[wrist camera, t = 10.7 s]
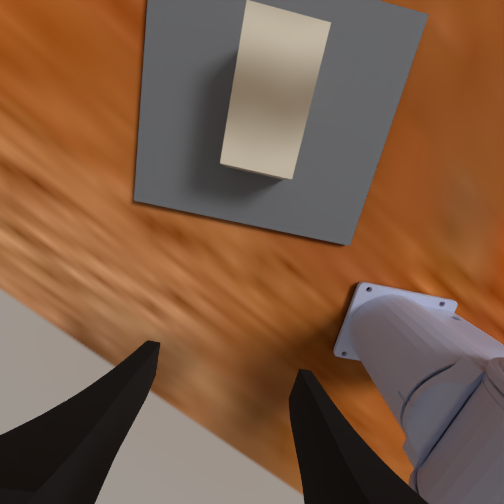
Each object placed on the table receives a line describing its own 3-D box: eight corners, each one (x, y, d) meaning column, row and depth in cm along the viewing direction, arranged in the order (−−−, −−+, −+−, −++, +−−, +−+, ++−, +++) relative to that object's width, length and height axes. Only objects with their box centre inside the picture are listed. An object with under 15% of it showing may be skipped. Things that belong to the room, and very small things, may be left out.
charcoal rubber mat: (422, 20, 16) (428, 14, 16) (346, 244, 21) (349, 245, 20) (155, -54, 15) (151, -63, 14) (137, 199, 19) (133, 200, 19)
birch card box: (283, 179, 18) (291, 179, 15) (226, 166, 18) (219, 163, 14) (312, 59, 16) (331, 22, 12) (247, 43, 16) (246, -1, 12)
